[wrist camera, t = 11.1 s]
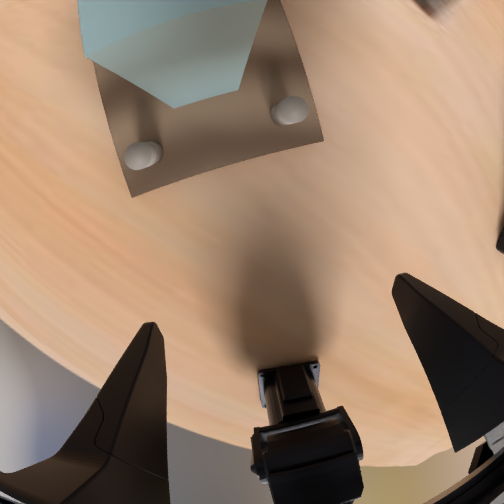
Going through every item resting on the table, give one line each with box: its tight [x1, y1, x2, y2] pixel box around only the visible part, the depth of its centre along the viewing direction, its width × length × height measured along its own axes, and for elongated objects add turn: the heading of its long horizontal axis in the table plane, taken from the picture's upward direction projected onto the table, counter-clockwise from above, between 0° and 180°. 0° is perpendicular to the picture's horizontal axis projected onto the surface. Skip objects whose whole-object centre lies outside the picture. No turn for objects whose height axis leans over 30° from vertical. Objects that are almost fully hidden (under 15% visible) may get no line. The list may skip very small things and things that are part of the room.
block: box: [78, 0, 267, 109], centre depth 9 cm, size 4×4×13 cm
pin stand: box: [93, 0, 324, 198], centre depth 14 cm, size 14×14×5 cm
